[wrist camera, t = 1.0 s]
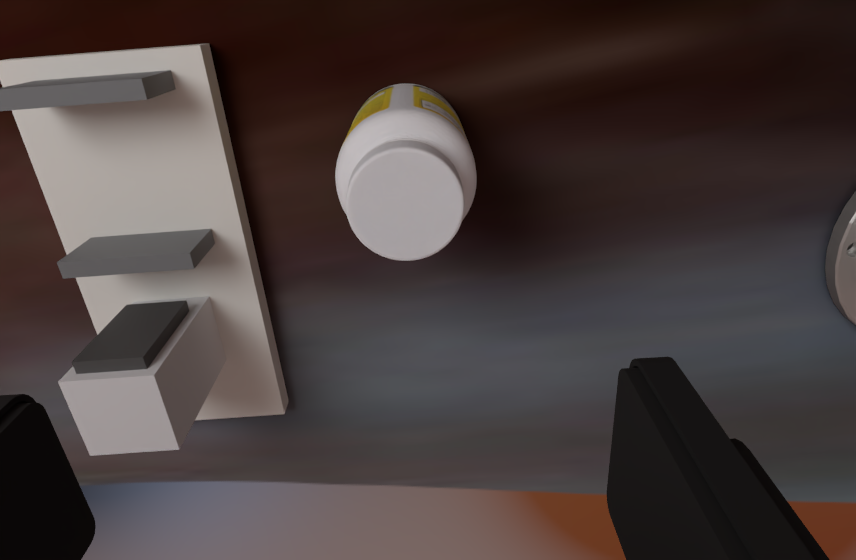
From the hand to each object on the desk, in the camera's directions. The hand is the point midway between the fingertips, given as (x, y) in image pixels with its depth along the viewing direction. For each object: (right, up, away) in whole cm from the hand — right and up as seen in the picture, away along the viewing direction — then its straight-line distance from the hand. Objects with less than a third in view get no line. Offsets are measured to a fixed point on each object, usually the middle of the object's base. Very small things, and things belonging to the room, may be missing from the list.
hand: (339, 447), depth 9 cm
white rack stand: (-12, +4, +21) cm, 24 cm away
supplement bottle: (+1, +10, +18) cm, 21 cm away
